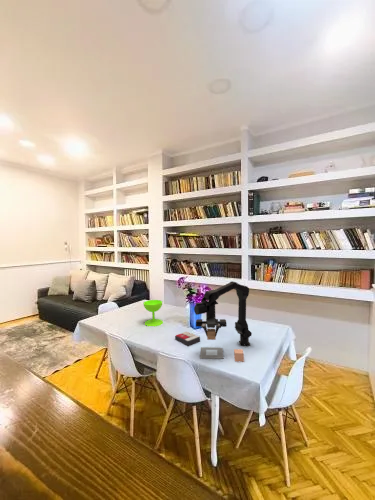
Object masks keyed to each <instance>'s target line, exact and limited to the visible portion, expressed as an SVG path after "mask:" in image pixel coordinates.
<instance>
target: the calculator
mask: <svg viewBox="0 0 375 500" xmlns="http://www.w3.org/2000/svg"><path fill="white" fill-rule="evenodd" d="M174 340H175V341H176V342H179V343H181V344H182V345H185V346H187V347H190V346H193V345H197V344H198V343H200V342H201V337H200V336H199V335H196V334H195V333H191V332H189V331H184V332H181V333H178V334H175V336H174Z"/></svg>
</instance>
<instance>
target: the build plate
mask: <svg viewBox="0 0 375 500" xmlns="http://www.w3.org/2000/svg"><path fill="white" fill-rule="evenodd" d="M199 355H200V356H199V359H200V360H201V359H205V360H224V350H223V347H216V346H215V347H211V346H210V347H208V346H207V347H205V346H202V347H200V354H199Z"/></svg>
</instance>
